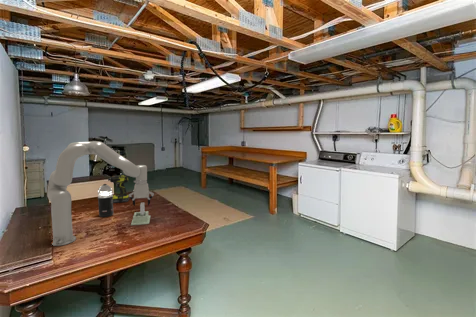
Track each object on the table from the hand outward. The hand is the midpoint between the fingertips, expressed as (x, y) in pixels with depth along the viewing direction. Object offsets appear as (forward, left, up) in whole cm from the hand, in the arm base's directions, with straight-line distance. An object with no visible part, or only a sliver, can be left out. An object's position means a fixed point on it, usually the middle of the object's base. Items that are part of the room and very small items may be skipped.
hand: (141, 205), depth 181 cm
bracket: (0, +1, -11) cm, 11 cm away
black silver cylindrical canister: (+19, +28, -12) cm, 36 cm away
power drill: (+58, +25, -12) cm, 64 cm away
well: (0, +1, -12) cm, 12 cm away
